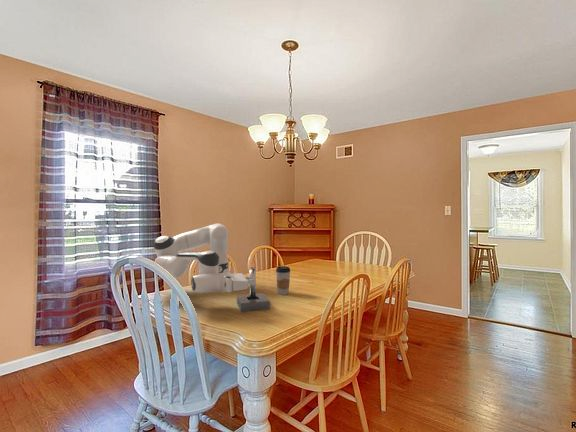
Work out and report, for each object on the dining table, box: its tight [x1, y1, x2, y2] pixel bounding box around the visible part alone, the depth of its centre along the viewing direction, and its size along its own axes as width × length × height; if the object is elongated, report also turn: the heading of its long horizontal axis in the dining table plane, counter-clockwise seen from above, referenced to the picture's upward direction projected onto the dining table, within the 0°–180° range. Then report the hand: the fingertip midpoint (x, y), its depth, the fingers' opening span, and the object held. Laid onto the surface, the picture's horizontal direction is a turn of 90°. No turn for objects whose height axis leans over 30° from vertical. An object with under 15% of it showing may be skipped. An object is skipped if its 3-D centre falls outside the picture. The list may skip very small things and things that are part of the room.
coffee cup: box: [275, 265, 291, 296], centre depth 178 cm, size 8×8×15 cm
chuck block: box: [236, 293, 271, 313], centre depth 155 cm, size 14×14×4 cm
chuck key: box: [249, 266, 257, 297], centre depth 154 cm, size 5×3×14 cm, turn 17°
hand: (254, 279), depth 154 cm, fingers closed on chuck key, 3 cm apart
